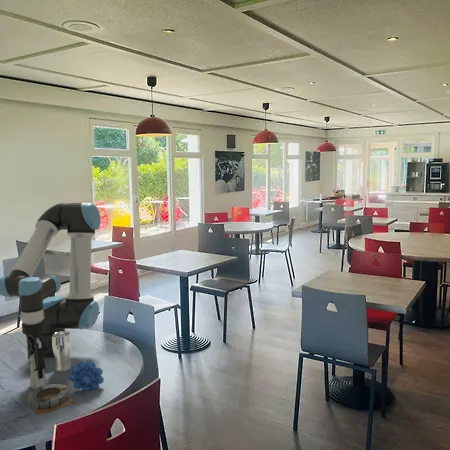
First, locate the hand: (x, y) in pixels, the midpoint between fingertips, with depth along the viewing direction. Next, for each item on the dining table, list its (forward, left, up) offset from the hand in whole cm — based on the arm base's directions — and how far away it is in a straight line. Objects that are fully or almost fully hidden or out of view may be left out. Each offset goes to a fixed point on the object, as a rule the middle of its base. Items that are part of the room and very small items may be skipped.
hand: (38, 382), depth 166 cm
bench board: (+13, 0, -2) cm, 13 cm away
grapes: (+15, +13, -3) cm, 20 cm away
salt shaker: (0, 0, -3) cm, 3 cm away
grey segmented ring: (+13, 0, -1) cm, 13 cm away
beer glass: (-9, +12, -3) cm, 15 cm away
